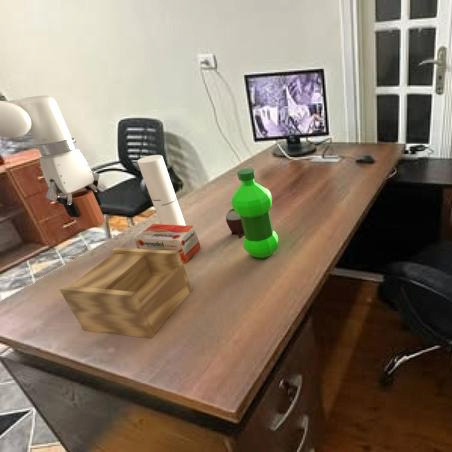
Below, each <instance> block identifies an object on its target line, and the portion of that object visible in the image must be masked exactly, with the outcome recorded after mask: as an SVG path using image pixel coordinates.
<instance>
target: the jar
mask: <svg viewBox="0 0 452 452" xmlns="http://www.w3.org/2000/svg"><path fill="white" fill-rule="evenodd" d="M65 199H66V196H65ZM72 203H75V204H76V206H77V208H78V211H79V213H80V215H81V216H80V217H73V219H74V220H75V222H76V225H77V226H78V228H79V229H81V230H88V229H92V228H96V227H99V226H100V225H102V224H103V223H105V221H106V219H105V217H104V215H103V212H102V210H101V207H100V206H99V205H98V203H97V200H96V198H95V196H94V193H93V191H92V190H85V189H83V190H77V191H75V192H72Z"/></svg>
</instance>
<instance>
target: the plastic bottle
mask: <svg viewBox="0 0 452 452" xmlns="http://www.w3.org/2000/svg"><path fill="white" fill-rule="evenodd" d="M255 171H256V170H255V169H254V168H243V169H240V170H238V171H237V177H238V180H239V181H240V182H241V185H240V186H239V187H238V188H237V190H236V191H235V192H234V193H233V196H232V199H231V207H232V209H234V211H235V212H236V213H238V214H239V215H240V218H241V222H242V226H243V230H244V233H243V234H244V240H243V248H244V251H246V252H247V254H249V255H250V256H252V257H254V258H257V259H265V258H268V257H270V256H271V255H272V254H273V253H275V252H276V250H277V248H278V246H279V235H278V234H277V232H276V231H275V230H274V227H273V222H272V215H271V212H270V210H271V208H272V205H273V196H272V193H271V191H270V189H268V188H266V187H264V186H262V185H261V184H259V183H257V182H255V178H256V177H257V176H256V172H255Z"/></svg>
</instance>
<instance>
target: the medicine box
mask: <svg viewBox="0 0 452 452" xmlns="http://www.w3.org/2000/svg"><path fill="white" fill-rule="evenodd" d="M185 225H186V224H185ZM185 225H162V224H160V223H159V224H158V223H153V224H151V225H149V226H148V227H147V228H145V229H144V230H143V231H142V232H140V233H139V234H138V235H136V236H135V237H134V241H135V244H136V247H137V249H151V250H169V251H178V252H179V255H180V257H181V260H182V263H183V264H187V263H188V262H189V261H190V260H191V259H192V258H193V257H194V256H195V255H196V254H197V253H198V252H199V251H200V250H201V244H200V239H199V236H198V235H197V232H196V230H195V225H186V226H185Z"/></svg>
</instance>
